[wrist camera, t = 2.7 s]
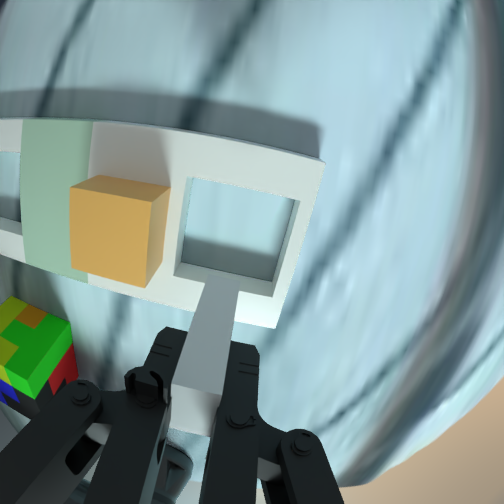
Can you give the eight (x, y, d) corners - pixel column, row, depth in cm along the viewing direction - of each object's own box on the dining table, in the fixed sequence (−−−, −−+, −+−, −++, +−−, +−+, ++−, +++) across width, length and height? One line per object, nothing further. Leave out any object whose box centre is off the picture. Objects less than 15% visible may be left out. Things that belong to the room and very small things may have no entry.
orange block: (162, 262, 23) (145, 288, 19) (96, 246, 23) (71, 268, 19) (171, 187, 21) (151, 202, 17) (98, 174, 20) (69, 187, 17)
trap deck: (274, 311, 27) (275, 328, 25) (-10, 236, 26) (-23, 245, 23) (319, 158, 22) (325, 163, 19) (-13, 118, 20) (-28, 121, 18)
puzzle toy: (24, 349, 33) (-9, 394, 24) (11, 295, 29) (-34, 340, 20) (78, 375, 34) (48, 429, 25) (70, 322, 30) (26, 380, 21)
